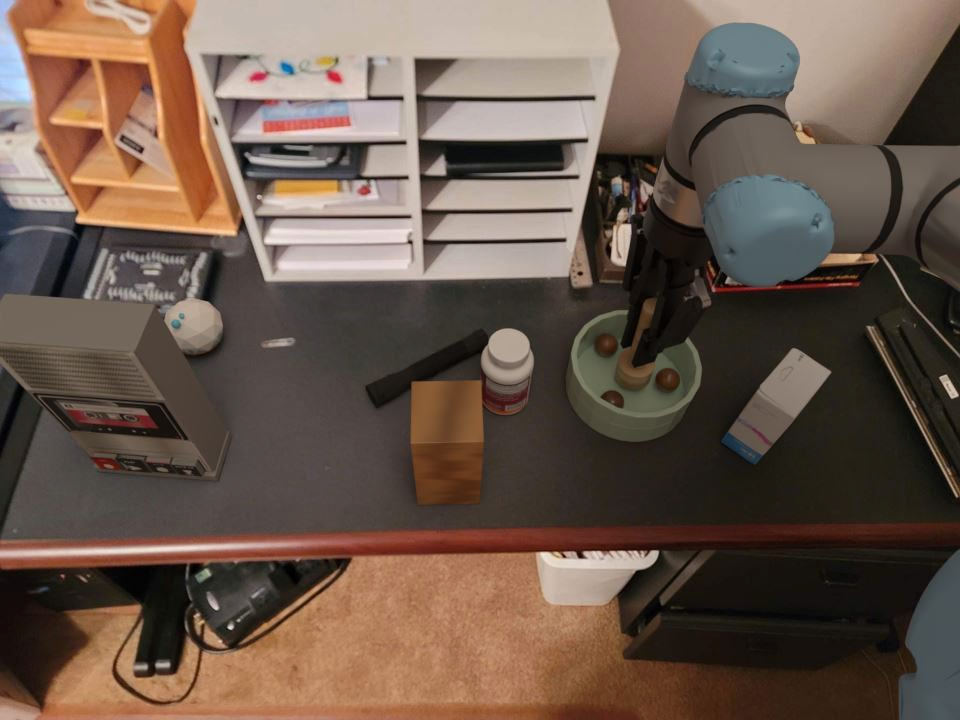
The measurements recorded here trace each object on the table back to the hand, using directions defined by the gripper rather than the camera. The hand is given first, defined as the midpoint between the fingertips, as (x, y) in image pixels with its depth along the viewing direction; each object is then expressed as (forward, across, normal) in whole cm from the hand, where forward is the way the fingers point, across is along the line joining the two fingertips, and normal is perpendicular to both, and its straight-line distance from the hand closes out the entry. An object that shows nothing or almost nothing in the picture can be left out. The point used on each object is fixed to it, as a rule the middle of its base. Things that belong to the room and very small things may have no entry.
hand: (637, 352), depth 82 cm
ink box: (+7, +11, +12) cm, 18 cm away
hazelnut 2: (+5, +3, -4) cm, 7 cm away
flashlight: (+7, -10, -23) cm, 26 cm away
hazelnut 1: (+5, -5, -1) cm, 7 cm away
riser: (+7, +4, -25) cm, 26 cm away
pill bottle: (+7, -4, -15) cm, 17 cm away
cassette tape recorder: (+7, -9, -55) cm, 56 cm away
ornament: (+7, -24, -49) cm, 55 cm away
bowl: (+7, 0, 0) cm, 7 cm away
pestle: (+5, 0, +1) cm, 5 cm away
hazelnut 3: (+5, +2, +4) cm, 7 cm away
